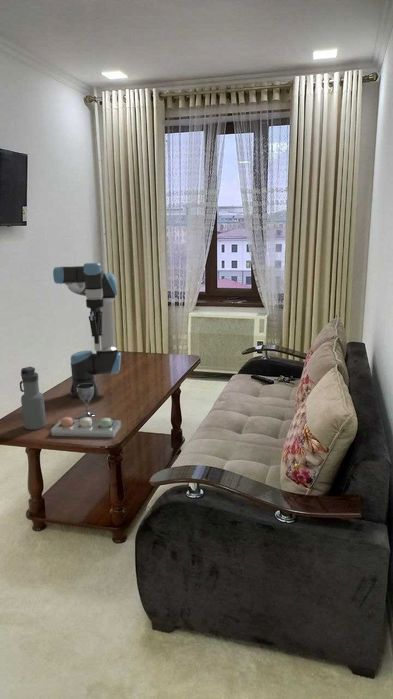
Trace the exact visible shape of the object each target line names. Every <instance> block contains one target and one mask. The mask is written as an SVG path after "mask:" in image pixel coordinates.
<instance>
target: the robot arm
mask: <svg viewBox="0 0 393 699" xmlns="http://www.w3.org/2000/svg"><path fill="white" fill-rule="evenodd" d="M52 278H53V282H54V283H55V284H56V285H57V284H60V285H62V284H64V285H65V286H67V289H68V290H70V292H71V293H73V294H77V295H78V296H79V295H80V296H83V297H85V298H86V300H85V307H86V308H88V309H90V312H89V315H88V320H89V325H90V326H89V327H90V332H91V337H93V342H94V351H96V353H93V351H92V350H88V349H86V350H81V351H77V352H75V353H72V355H71V356H70V369H71V380H72V381H71V385H70V390H69V394H70V397H73V398H76V399H80V398H79V396H78V393H77V385H79V384H83V383H91V384H93V385H94V394H93V397H94V396H97V395H98V394H99V387H98V385H97V383H96V379H95V376H100V375H101V376H102V375H116V374H118V373H120V369H121V358H122V352H120V351H119V348H118V347H117V346H116V342H115V341H116V340H115V337H116V336H115V323H114V322H115V321H114V305H113V304H114V301H115V300H116V296H118V294H119V292H118V286H117V280H116V277H115V275H114V273H110V272H109V273H108V272H104V270H103V268H102V265H101V263H100V262H87V263H84V264H83V266H82V265H80V266H57V267H56V266H55V267H54V268H53V270H52Z"/></svg>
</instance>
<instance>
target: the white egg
mask: <svg viewBox="0 0 393 699" xmlns="http://www.w3.org/2000/svg"><path fill="white" fill-rule="evenodd" d="M92 420H93V419H92V417H85V418H82V417H81V418H80V423H81V427H89V428H91V427H92Z"/></svg>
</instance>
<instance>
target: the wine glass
mask: <svg viewBox="0 0 393 699" xmlns="http://www.w3.org/2000/svg"><path fill="white" fill-rule="evenodd" d="M77 393H78V396H79V398H78V399H80V400H81V401H82V402H83V403H84V405H85V411H86V412H83V413H81V414H80V415H79V416H80V418H81V419H82V418H85V417H89V418H92V417H94V416H95V415H96V414H95V412H90V411H89V403H90V401H91V400H92V398H93V397H94V396H93V394H94V385H93V384H91V383H83V384H79V385H77Z"/></svg>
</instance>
